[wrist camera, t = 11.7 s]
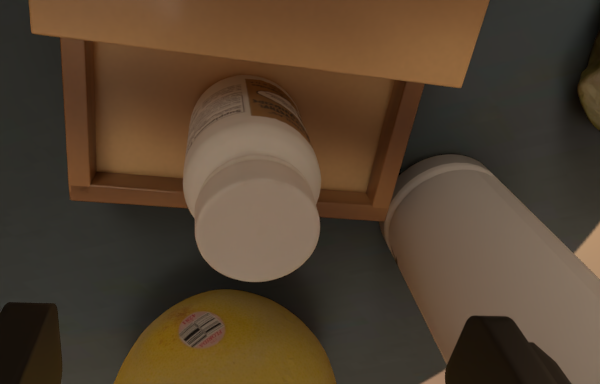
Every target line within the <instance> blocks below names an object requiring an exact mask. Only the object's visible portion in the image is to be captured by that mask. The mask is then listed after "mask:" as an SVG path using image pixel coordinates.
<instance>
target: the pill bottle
mask: <svg viewBox="0 0 600 384" xmlns="http://www.w3.org/2000/svg"><path fill="white" fill-rule="evenodd" d="M320 189H321V173H320V168H319V164H318V161H317V158H316V155H315V152H314V150H313V147H312V145H311V143H310V139H309V136H308V134H307V132H306V129H305V127H304V125H303V122H302V119H301V116H300V114H299V111H298V109H297V106H296V104H295V103H294V101H293V100H292V98H291V97H290V96H289V94H288V93H287V92H286V91H285V90H284V89H283V88H282V87H280V86H279V85H277V84H276V83H274V82H272V81H270V80H268V79H265V78H262V77H258V76H252V75H237V76H232V77H228V78H225V79H223V80H220V81H219V82H217V83H215V84H214V85H212V86H211V87H209V88H208V89H207V90H206V91H205V92H204V93H203V94H202V95H201V97H200V98H199V100H198V101H197V103H196V105H195V107H194V109H193V112H192V115H191V120H190V125H189V132H188V140H187V148H186V155H185V162H184V170H183V192H184V197H185V201H186V204H187V206H188V208H189V211H190V212H191V214H192V216H193V217H194V218H195V239H196V243H197V246H198V249H199V251H200V253H201V255H202V257H203V258H204V259H205V261H206V262H207V263H208V264H209V265H210V266H211V267H212V268H213V269H215V270H216V271H218V272H219V273H221V274H223V275H225V276H227V277H230V278H233V279H236V280H240V281H246V282H264V281H270V280H274V279H277V278H281V277H283V276H285V275H288V274H290V273H291V272H293V271H294V270H296V269H297V268H299V267H300V266H301V265H302V264H304V262H305V261H306V260H307V259H308V258H309V257H310V256H311V254H312V253H313V251H314V250H315V247H316V245H317V242H318V239H319V235H320V219H319V214H318V210H317V207H316V204H317V201H318V198H319V194H320Z"/></svg>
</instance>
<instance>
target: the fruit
mask: <svg viewBox="0 0 600 384" xmlns="http://www.w3.org/2000/svg"><path fill="white" fill-rule="evenodd" d="M114 384H336V380H335V376H334V373H333V371H332V368H331V365H330V362H329V359H328V357H327V354H326V352H325V350H324V349H323V347H322V346H321V344H320V342H319V341H318V339H317V338H316V336H315V335H314V334H313V333H312V332H311V331H310V330H309V328H308V327H307V326H306V325H305V324H304V323H303V322H302V321H301V320H300V319H299V318H298V317H296V316H295V315H294V314H293V313H291V312H290V311H289V310H287V309H286V308H284V307H283V306H281V305H280V304H278V303H276V302H274V301H272V300H270V299H268V298H265V297H262V296H260V295H256V294H253V293H249V292H245V291H240V290H233V289H219V290H212V291H207V292H204V293H200V294H197V295H194V296H192V297H190V298H187V299H185V300H183V301H181V302H179V303H178V304H176V305H174V306H173V307H171V308H170V309H168V310H167V311H165V312H164V313H163V314H162V315H160V316H159V317H158V318H157V319H156V320H154V321H153V322H152V323H151V324H150V325H149V326H148V327H147V328H146V329H145V330H144V332H143V333H142V334H141V335H140V336H139V338H138V339H137V341H136V342H135V344H134V345H133V347H132V348H131V350H130V352H129V353H128V355H127V357H126V358H125V360H124V362H123V364H122V366H121V368H120V370H119V372H118V375H117V377H116V379H115V382H114Z"/></svg>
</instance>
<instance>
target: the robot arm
mask: <svg viewBox="0 0 600 384" xmlns="http://www.w3.org/2000/svg"><path fill="white" fill-rule="evenodd" d="M61 377H62V354H61V343H60V332H59V321H58V311H57V306H56V305H55V304H54V303H15V302H9V303H7V304H6V305H5V306H4V307H3V309H2V311H1V313H0V384H61ZM445 383H446V384H571V382H570V381H569V379H568V378H567V377H566V375H565V374H564V372H563V371H562V370H561V368H560V367H559V365H558V364H557V363H556V362H555V361H554V360H553V359H552V358H551V357H550V356H548V355H547V354H546V353H545V352H544V351H543V350H542V349H540V348H539V347H538V346H537V345H536V344H535V343H533V342H528V340H527V339H526V338H525V336H524V335H523V333H522V332H521V330H520V329H519V327H518V326H517V324H516V323H515V322H514V321H513V320H512V319H511V318H509V317H507V316H478V315H474V316H471V317H469V318H468V319H467V321H466V323H465V325H464V327H463V330H462V332H461V334H460V336H459V339H458V341H457V343H456V345H455V348H454V350H453V352H452V354H451V357H450V359H449V361H448V364H447V366H446V372H445Z"/></svg>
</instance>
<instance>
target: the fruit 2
mask: <svg viewBox="0 0 600 384" xmlns="http://www.w3.org/2000/svg"><path fill="white" fill-rule="evenodd" d="M577 92H578V95H579V99H580V103H581V105H582V107H583V108H584V111H585V114H586V116H587V118H588V119H589V121H590V122H591V123H592V124H593V126H594V127H596V128H597V129H598V130H599V131H600V30H599V32H598V34H597V36H596V39H595V41H594V44H593V47H592V50H591V53H590V57H589V63H588V66H587V68H586V69H585V70H584V71H583V72H582V73H581V78H580V81H579V83H578V88H577Z"/></svg>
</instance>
